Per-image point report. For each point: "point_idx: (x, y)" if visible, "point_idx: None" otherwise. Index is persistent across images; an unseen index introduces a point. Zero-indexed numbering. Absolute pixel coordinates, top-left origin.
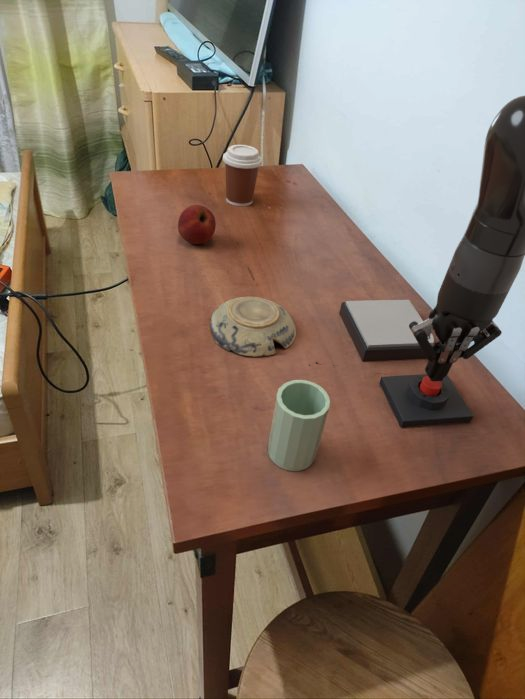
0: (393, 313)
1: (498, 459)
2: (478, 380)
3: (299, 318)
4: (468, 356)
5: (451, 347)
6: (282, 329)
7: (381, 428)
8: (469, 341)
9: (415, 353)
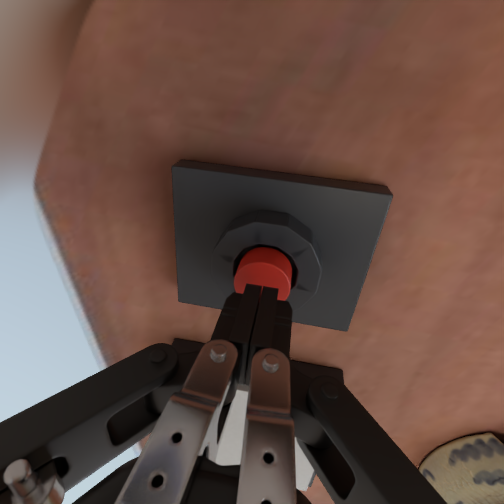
0: (224, 448)
1: (160, 3)
2: (105, 268)
3: None
4: (153, 354)
5: (259, 444)
6: (498, 481)
7: (444, 196)
8: (147, 465)
9: None
